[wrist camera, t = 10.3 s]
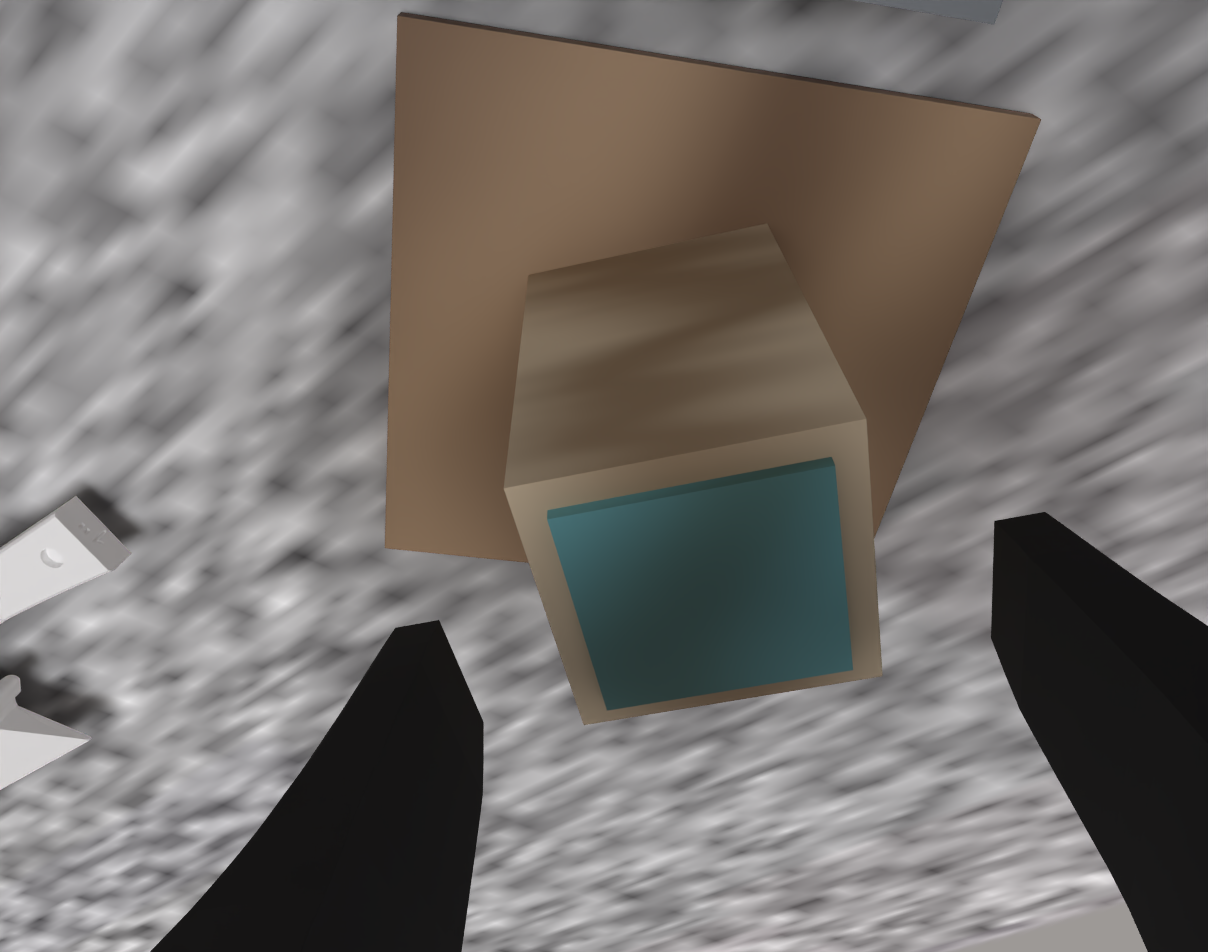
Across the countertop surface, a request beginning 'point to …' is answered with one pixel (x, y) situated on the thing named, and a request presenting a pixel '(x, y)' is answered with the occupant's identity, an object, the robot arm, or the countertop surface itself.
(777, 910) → the countertop surface
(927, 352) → the pad
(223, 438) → the countertop surface
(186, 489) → the countertop surface
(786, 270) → the label box
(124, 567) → the countertop surface
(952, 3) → the bin
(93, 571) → the white plastic strip tool
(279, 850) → the robot arm
